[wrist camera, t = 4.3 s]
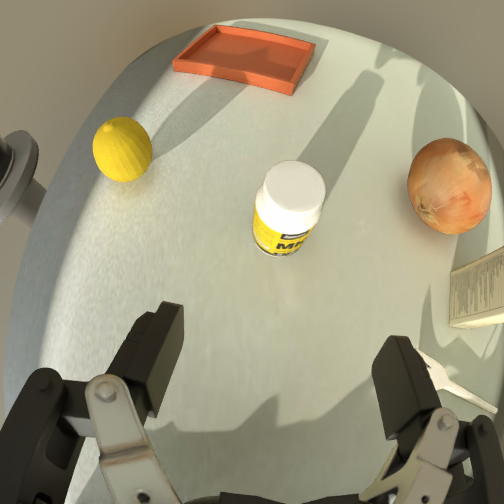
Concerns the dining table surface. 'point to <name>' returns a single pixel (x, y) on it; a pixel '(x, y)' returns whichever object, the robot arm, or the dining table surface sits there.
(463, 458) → the robot arm
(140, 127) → the lemon
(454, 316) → the cosmetic box
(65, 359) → the dining table surface
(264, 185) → the supplement bottle
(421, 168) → the onion
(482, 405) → the fork
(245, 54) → the tray
